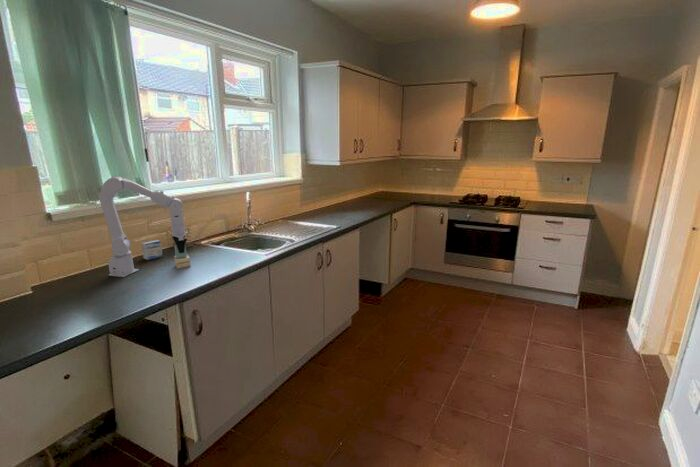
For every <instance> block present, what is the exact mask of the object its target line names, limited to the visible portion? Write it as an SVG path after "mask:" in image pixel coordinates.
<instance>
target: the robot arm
mask: <svg viewBox="0 0 700 467" xmlns="http://www.w3.org/2000/svg"><path fill="white" fill-rule="evenodd" d="M121 191H123V192H126V191H127V192H128V191H132V192H135V193H136V194H137V193H138V194H140V195H142V196H145V197H147V198H150V200H151V202H152V203H155V204H157V205H158V206H161V207H163V208H166V209H168V210H169V212H170V215H169V218H170V226H171V235H172V236H171V237H172V239H173V242H175V245H177V248H178V251H179V253H184V251H185V245H186V243H187V242H188V239H187V237H185V236H186V235H189V232H188V231H186V226H185V218H184V210H183V202H182V200H181V199H180V198H178V197H175V196H174V195H169V194H167V193H165V191H163V190H155V191H153V190H151V189H149V188H147V187H146V186H143V185H141V184H139V183H137V182H134V181H133V180H130V179H128V178H125V177H124V178H123V177H122V176H120V175H114V176H112V177H110V178H108V179H107V180H106V181H105V182H104V183H102V187H101V190H100V192H99V195H98V200H99V202H100V203H99V204H100V206H101V209H102V212H103V215H104V219H105V220H106V221H105V222H106V224H107V226H108V230H109V233H110V237H111V240H110V241H111V245H112V246H111V253H112V255H113V256H112V257H111V258H110V259H108V260H107V261H108V262H107V265H108V270H109V274H108V276H110V277H117V278H118V277H119V278H125V277H127V276H129V275H131V274H134V273H136V272H138V271H139V268H135V267H134V260H133V259H134V258H133V252H132V251H131V250H130V248H131V246H132V243H131V241H130V240H129V239H128V238H127V235H126V234H125V232H124V230H123V227H122V223H121V220H120V218H119V217H120V216H119V214H118V210H117V207H116V203H115V201H114V198H115V197H116V196H117V194H118V193H120V192H121Z"/></svg>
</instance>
